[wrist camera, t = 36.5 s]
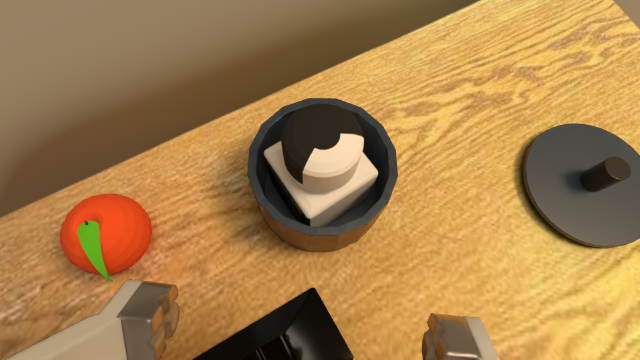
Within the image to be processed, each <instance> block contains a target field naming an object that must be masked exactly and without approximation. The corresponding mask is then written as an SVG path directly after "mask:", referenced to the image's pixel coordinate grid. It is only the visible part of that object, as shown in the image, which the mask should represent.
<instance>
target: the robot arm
mask: <svg viewBox="0 0 640 360" xmlns="http://www.w3.org/2000/svg"><path fill="white" fill-rule="evenodd" d="M177 296H178V289H177V286H176V285H171V284H164V283H157V282H149V281H139V280H132V279H129V280H127V281H125V282H124V284H123V285H122V286H121V287H120V288H119V290H118V291H117V292H116V293H115V295H114V296H113V297H112V298H111V300H110V301H109V302H108V303H107V305H106V306H105V307H104V308H103V309H102V311H101V312H100V313H99V314H98V315H92V316H90V317H88V318H86V319H84V320H82V321H80V322H78V323H76V324H74V325H72V326H70V327H68V328H66V329H64V330H62V331H60V332H58V333H56V334H54V335H52V336H50V337H48V338H47V339H45V340H43V341H41V342H39V343H37V344H35V345H33V346H31V347H29V348H27V349H25V350H23V351H21V352H19V353H17V354H15V355H13V356H11V357H9V358H7V359H5V360H160V359H161V357H162V355H163V353H164V351H165V349H166V340H167V339H169V338H170V337H172V336H173V334H174V332H175V330H176V327H177V323H178V320H179V305H178V304H177V303H176V302H175V300H176V298H177ZM427 323H428V327H429V330H428V331H426V332H425V333H424V337H423V341H422V356H423V360H500V359H499V356H498V354H497V352H496V350H495V348H494V346H493V344H492V342H491V339H490V337H489V335H488V333H487V331H486V329H485V327H484V325H483V322H482V320H481V319H480V318H477V317H466V316H463V317H462V316H454V315H444V314H434V313H431V314H430V316H429V319H428V322H427Z"/></svg>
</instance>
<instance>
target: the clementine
mask: <svg viewBox="0 0 640 360" xmlns="http://www.w3.org/2000/svg"><path fill="white" fill-rule="evenodd" d="M151 234H152V228H151V221H150V219H149V216H148V214H147V213H146V212H145V210H144V209H143V208H142V207H141V206H140V205H139V203H137V202H135V201H134V200H132V199H130V198H128V197H125V196H121V195H118V194H101V195H97V196H92V197H90V198H88V199H85V200H83V201H82V202H80V203H79V204H78V205H76V206H75V207H74V208H73V209H72V210H71V211H70V212H69V214H68V215H67V216H66V218H65V220H64V222H63V224H62V228H61V232H60V242H61V245H62V248H63V251H64V253H65V255H66V256H67V258H68V259H69V260H70V262H71V263H73V264H74V265H75V266H77V267H78V268H80V269H82V270H84V271H87V272H90V273H93V274H102V275H103V276H104V277H105V278H107V279H108V280H110V281H111V282H113V281H112V280H111V278H110V277H109V276H108V274H112V273H116V272H120V271H123V270H125V269H127V268H129V267H130V266H132V265H133V264H134V263H136V262H137V261H138V260H139V259H140V258H141V257H142V256H143V255H144V253H145V252H146V251H147V248H148V246H149V244H150V240H151Z"/></svg>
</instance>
